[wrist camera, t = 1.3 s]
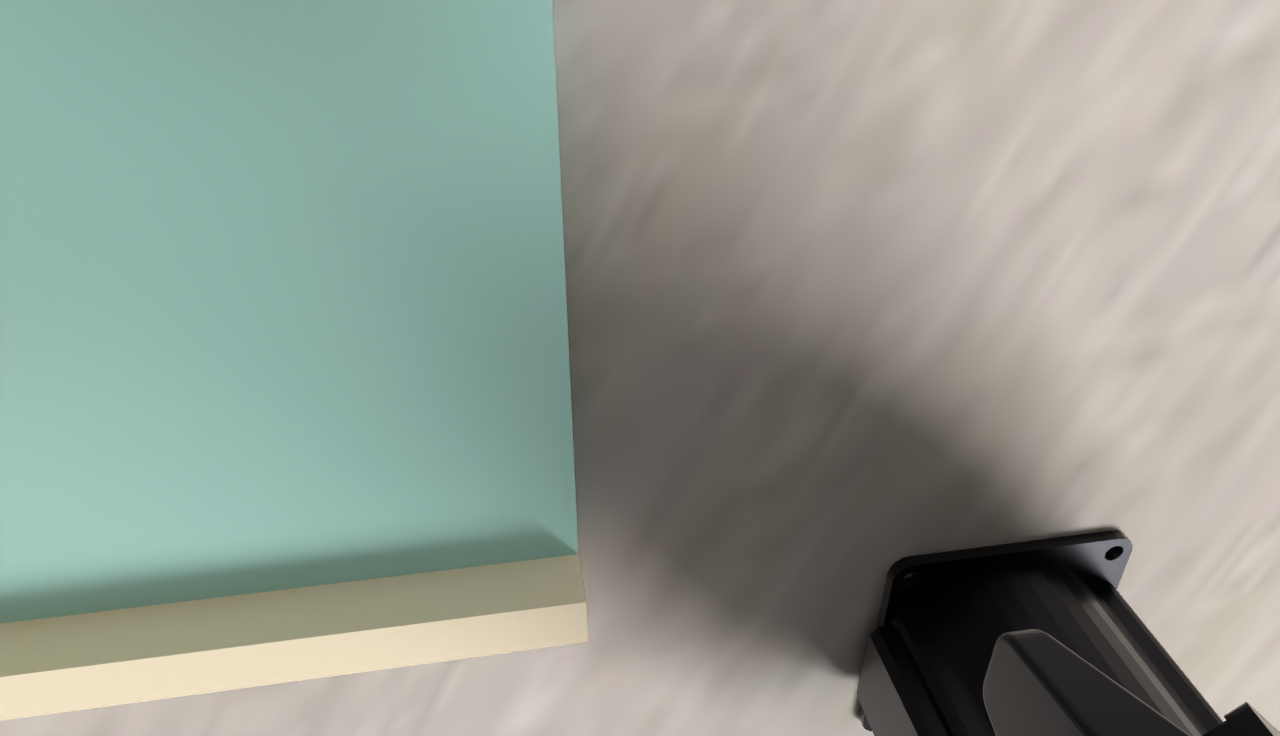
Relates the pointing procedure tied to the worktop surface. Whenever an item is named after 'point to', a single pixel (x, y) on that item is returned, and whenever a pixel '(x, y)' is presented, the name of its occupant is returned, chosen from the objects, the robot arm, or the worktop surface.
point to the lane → (278, 344)
